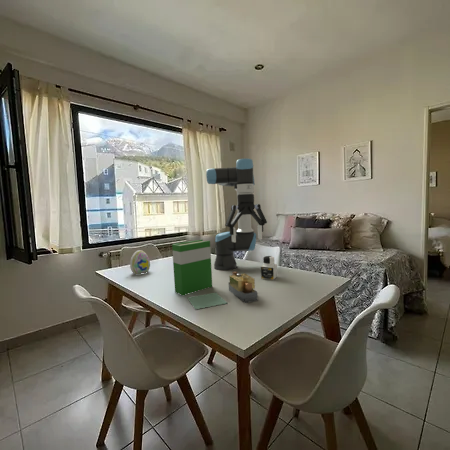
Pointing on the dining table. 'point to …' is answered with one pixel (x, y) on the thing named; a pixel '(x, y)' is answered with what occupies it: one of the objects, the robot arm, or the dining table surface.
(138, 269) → the decorative egg
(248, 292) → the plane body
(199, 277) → the hardback book
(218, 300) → the mat
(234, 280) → the lever cap
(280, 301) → the dining table surface
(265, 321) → the dining table surface
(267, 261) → the medicine bottle
